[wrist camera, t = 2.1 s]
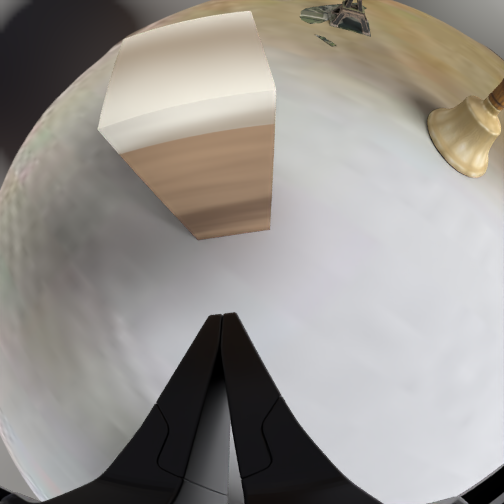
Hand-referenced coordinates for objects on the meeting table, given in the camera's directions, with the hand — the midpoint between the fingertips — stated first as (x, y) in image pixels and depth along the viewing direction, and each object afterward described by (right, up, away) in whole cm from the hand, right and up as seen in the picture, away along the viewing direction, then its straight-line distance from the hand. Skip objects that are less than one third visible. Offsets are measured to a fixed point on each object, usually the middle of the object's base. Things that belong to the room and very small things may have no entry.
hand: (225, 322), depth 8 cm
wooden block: (-1, +6, +11) cm, 13 cm away
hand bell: (+22, +13, +12) cm, 28 cm away
